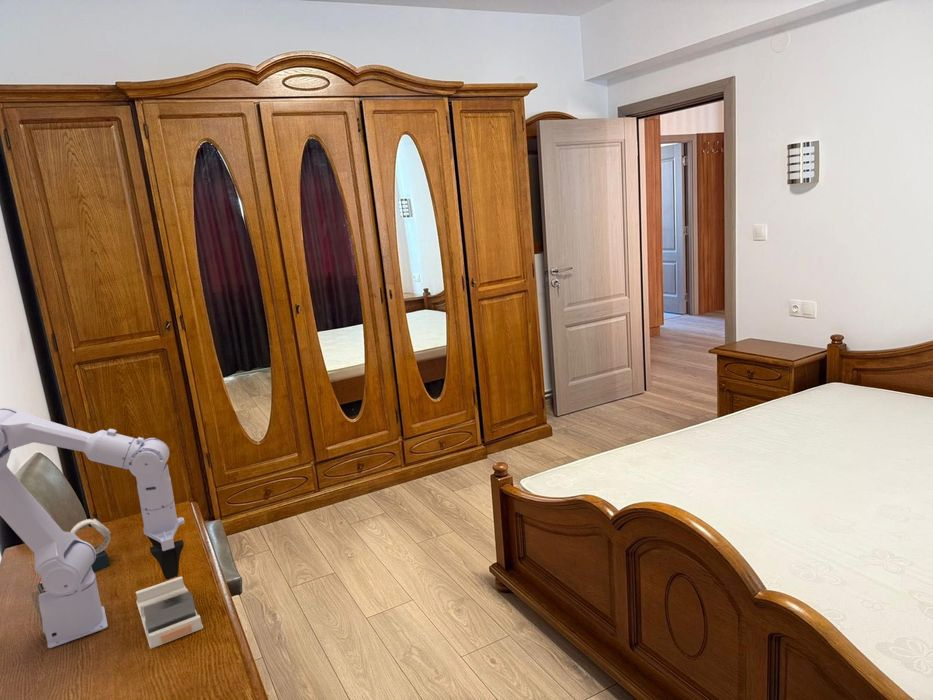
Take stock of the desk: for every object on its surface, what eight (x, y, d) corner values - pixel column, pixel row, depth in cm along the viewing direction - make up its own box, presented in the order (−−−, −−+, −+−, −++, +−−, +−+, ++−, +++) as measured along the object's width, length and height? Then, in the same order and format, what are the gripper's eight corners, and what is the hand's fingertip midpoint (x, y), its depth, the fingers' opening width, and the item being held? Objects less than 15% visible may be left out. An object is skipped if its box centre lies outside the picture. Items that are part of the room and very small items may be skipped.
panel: (150, 640, 111) (145, 615, 110) (147, 631, 114) (143, 607, 113) (197, 622, 116) (193, 598, 115) (193, 614, 118) (189, 591, 117)
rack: (150, 650, 110) (148, 638, 109) (136, 602, 124) (134, 592, 123) (203, 629, 114) (201, 617, 114) (184, 586, 129) (182, 575, 128)
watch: (119, 562, 140) (110, 517, 137) (79, 578, 134) (69, 532, 132) (111, 554, 144) (102, 510, 141) (71, 569, 138) (62, 524, 136)
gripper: (187, 510, 113) (197, 577, 116) (174, 485, 125) (184, 546, 128) (144, 522, 109) (156, 591, 112) (135, 495, 121) (146, 557, 124)
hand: (168, 568), depth 119 cm, fingers open, 7 cm apart
